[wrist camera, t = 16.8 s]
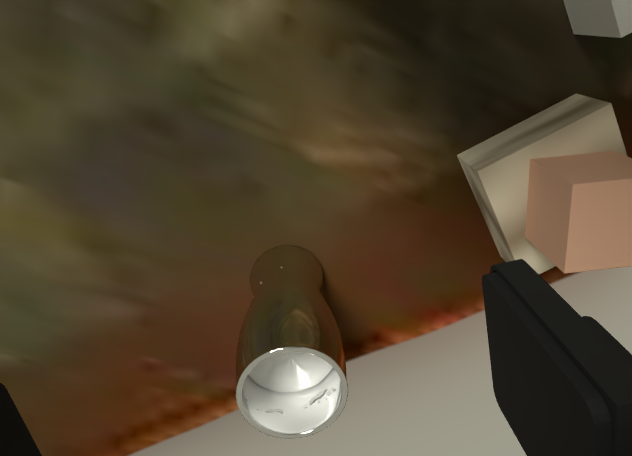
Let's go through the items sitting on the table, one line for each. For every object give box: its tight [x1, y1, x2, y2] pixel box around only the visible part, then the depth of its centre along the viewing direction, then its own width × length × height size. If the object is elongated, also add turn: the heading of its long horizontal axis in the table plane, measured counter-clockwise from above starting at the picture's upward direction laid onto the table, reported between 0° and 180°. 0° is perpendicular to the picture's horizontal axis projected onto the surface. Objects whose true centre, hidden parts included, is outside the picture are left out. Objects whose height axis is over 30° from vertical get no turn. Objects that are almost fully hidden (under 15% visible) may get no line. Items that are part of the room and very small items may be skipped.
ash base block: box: [457, 94, 628, 274], centre depth 42 cm, size 10×10×5 cm
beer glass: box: [236, 245, 348, 439], centre depth 39 cm, size 7×7×15 cm
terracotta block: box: [525, 151, 632, 273], centre depth 37 cm, size 6×6×6 cm
